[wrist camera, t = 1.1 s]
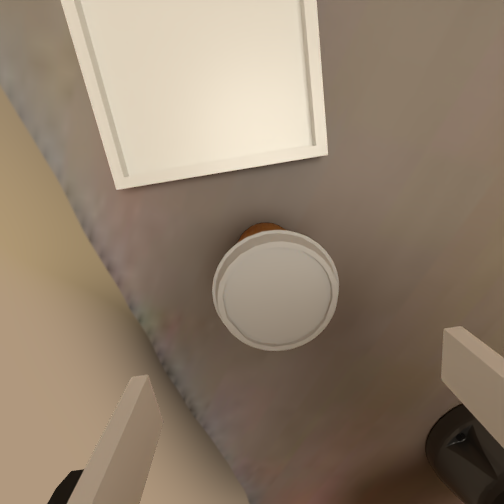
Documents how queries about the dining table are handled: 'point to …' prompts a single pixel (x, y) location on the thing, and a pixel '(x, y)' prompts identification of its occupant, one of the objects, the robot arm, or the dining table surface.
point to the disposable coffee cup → (275, 288)
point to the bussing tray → (200, 84)
